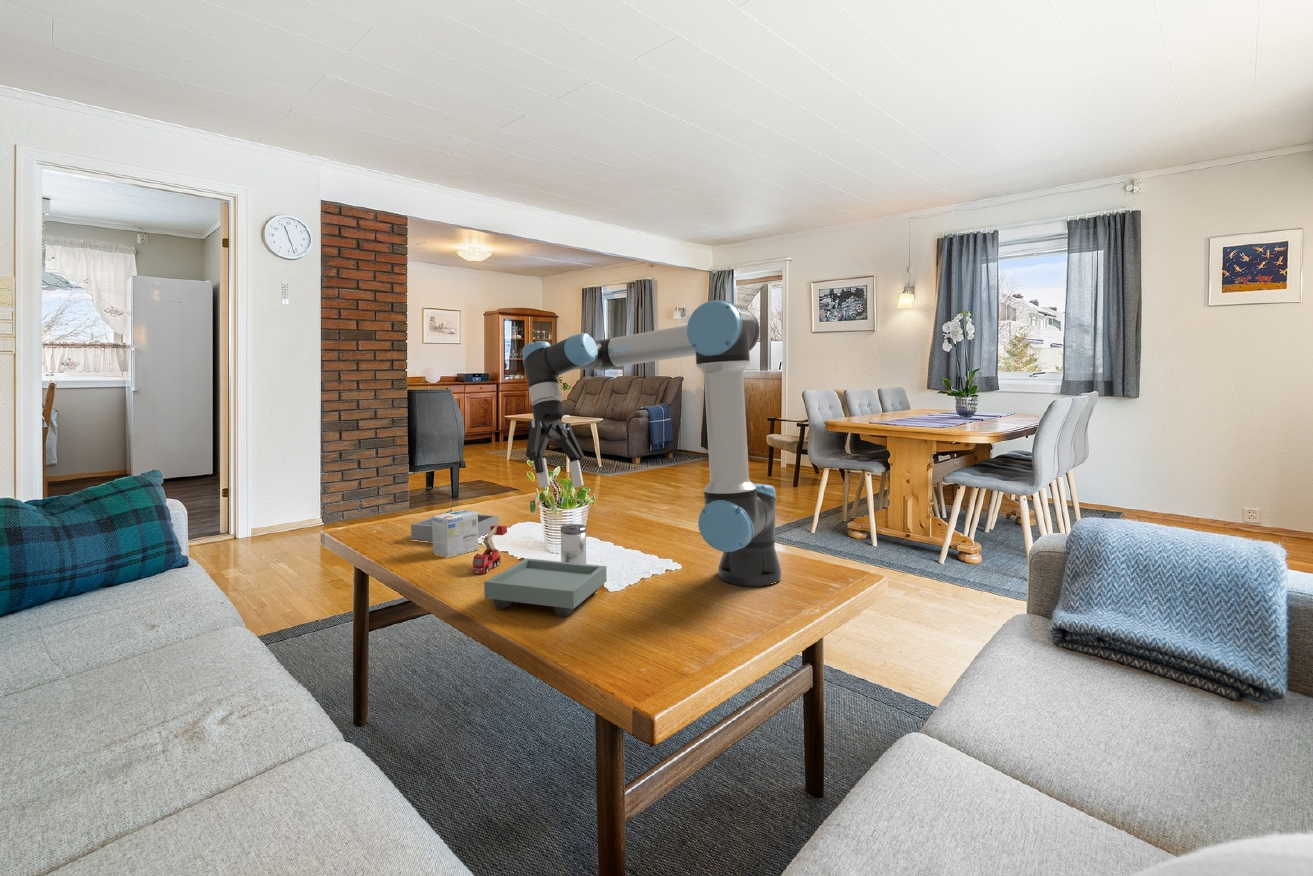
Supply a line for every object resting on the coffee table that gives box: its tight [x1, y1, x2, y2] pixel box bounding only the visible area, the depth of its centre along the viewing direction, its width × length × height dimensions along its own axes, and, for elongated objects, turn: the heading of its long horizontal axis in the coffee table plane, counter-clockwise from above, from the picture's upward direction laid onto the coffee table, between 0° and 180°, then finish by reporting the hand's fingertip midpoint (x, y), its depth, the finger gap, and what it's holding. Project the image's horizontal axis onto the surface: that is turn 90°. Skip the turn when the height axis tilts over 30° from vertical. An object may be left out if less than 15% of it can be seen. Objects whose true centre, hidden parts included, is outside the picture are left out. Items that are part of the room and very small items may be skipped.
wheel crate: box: [410, 512, 499, 542], centre depth 195 cm, size 18×18×5 cm
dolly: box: [483, 558, 607, 618], centre depth 140 cm, size 20×18×6 cm
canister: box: [560, 523, 587, 564], centre depth 158 cm, size 6×6×12 cm
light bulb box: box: [431, 509, 479, 558], centre depth 177 cm, size 11×7×11 cm, turn 144°
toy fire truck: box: [472, 525, 508, 574], centre depth 164 cm, size 3×14×10 cm, turn 168°
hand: (562, 486), depth 158 cm, fingers open, 13 cm apart
